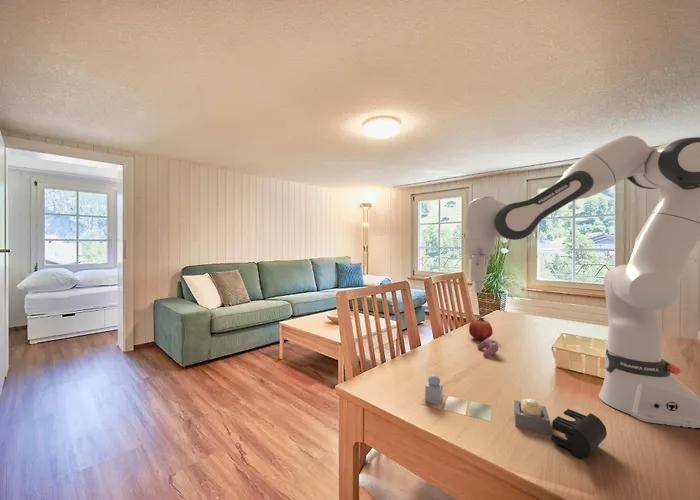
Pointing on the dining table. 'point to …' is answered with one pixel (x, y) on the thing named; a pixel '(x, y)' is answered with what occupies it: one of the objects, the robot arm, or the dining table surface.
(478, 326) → the fruit
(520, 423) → the box
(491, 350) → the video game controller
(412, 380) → the dining table surface
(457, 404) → the game board
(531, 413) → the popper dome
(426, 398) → the pawn
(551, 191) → the robot arm
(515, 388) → the dining table surface
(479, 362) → the dining table surface
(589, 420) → the end cap
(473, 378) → the dining table surface
